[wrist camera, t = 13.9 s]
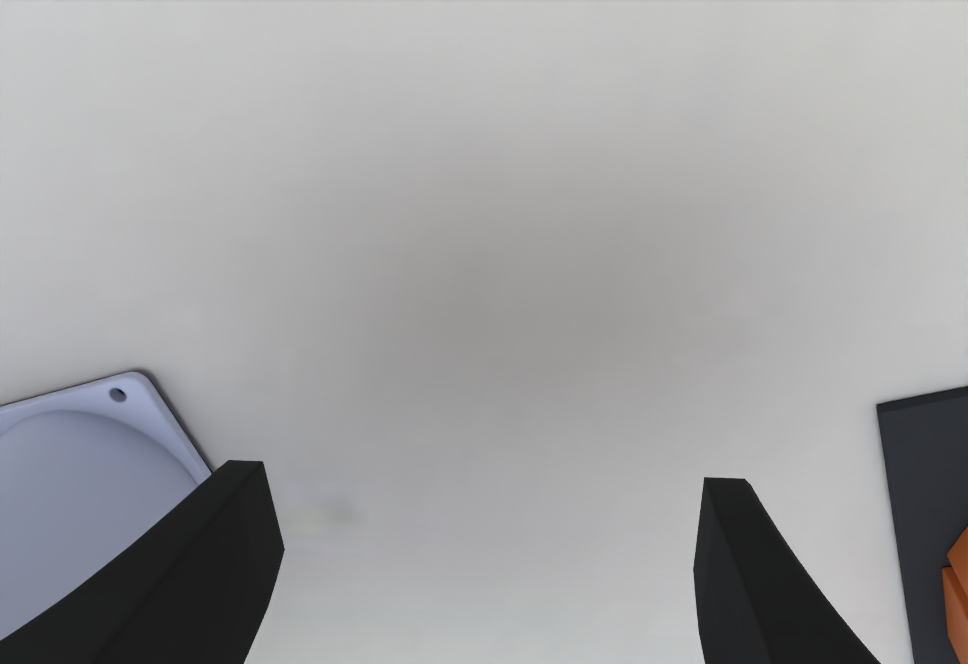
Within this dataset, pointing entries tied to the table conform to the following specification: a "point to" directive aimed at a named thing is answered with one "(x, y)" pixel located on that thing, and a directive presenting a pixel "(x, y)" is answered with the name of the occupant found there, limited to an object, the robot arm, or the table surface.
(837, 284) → the table surface
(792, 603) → the robot arm
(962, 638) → the ring
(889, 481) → the mat
